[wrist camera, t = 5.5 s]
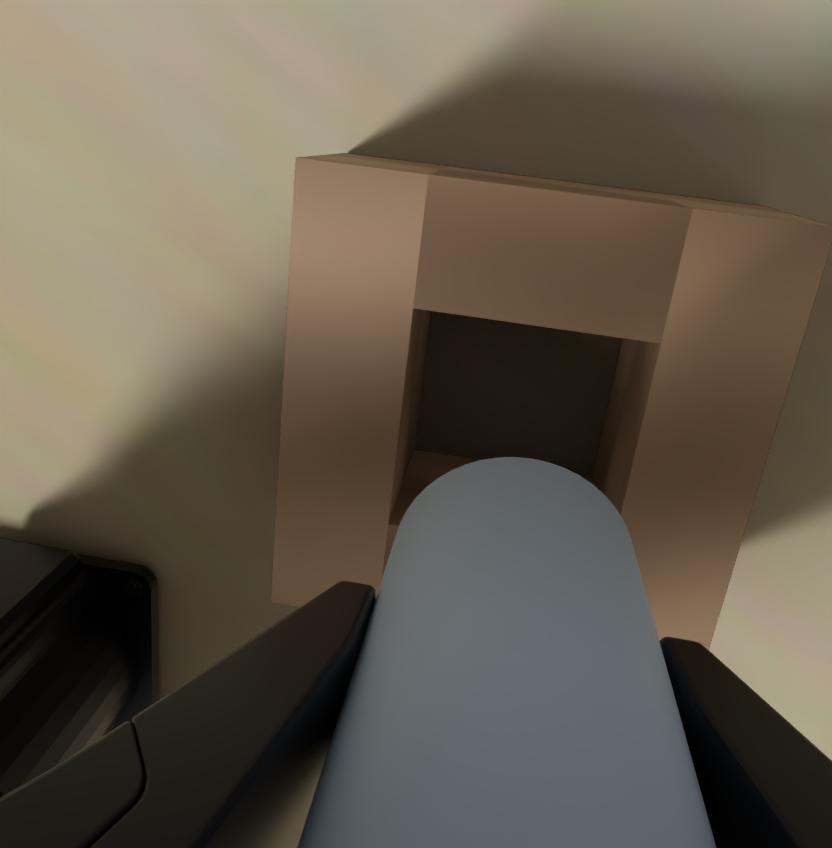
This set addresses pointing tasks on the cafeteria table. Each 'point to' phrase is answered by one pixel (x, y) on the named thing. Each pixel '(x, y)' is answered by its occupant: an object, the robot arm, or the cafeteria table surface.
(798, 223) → the socket block
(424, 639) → the peg
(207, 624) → the cafeteria table surface
